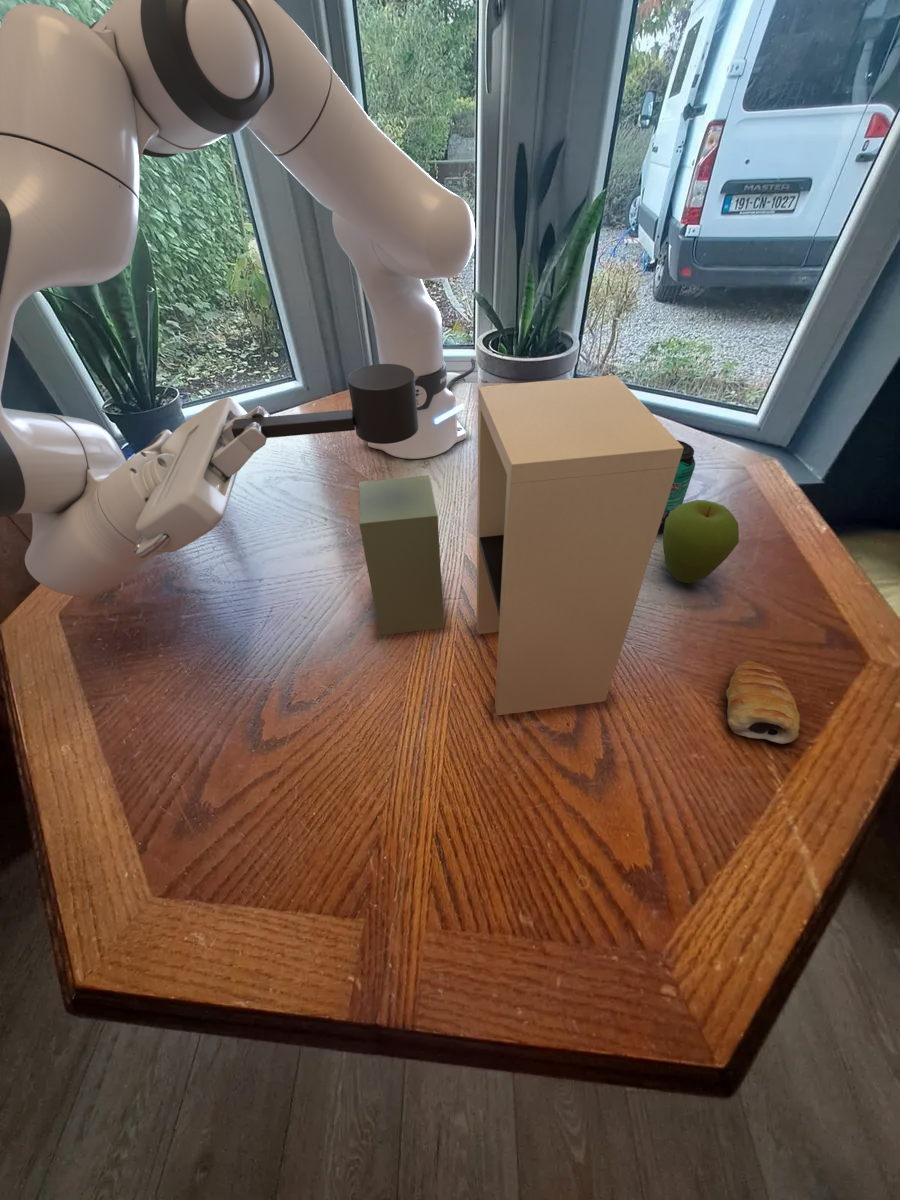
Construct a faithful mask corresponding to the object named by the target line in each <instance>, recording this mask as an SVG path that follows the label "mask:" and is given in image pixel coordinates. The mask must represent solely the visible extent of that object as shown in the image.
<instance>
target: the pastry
mask: <svg viewBox="0 0 900 1200" xmlns="http://www.w3.org/2000/svg"><path fill="white" fill-rule="evenodd" d="M728 685H729V686H728V688H727V689H726V692H725V695H726V698H727V707H726V708H727V711H726V712H727V713H726V714H727V724H728V727H729V728H730V730H731V731H732V732H733V733H734V734H736V735H738V736H742V737H744V738H745V737H746V738H749V739H756V740H757V739H758V740H759V739H761V740H767V741H769V742H772V743H777V744H782V745H784V744H788V743H792V742H793V741H795V740H797V738H798V737H799V735H800V733H799V730H800V724H801V723H800V721H801V714H800V713H799V710H798V706H797V702H796V699H795V697H794V695H793V693H792V692H791V691H790V689H789V687H788V686H787V685H786V684H785V681H784V680H783V679H782V677H781V676H780V675H779V673H778V672H777V671H776V670H775V669H773V667H770V666H767V665H765V664H762V663H757V662H755V661H753V660H747V661H745V662H742V663H740V664H738V665H737V666H736V668H735V671H734V673H733V674H732V676H731V677H730V679H729V684H728Z"/></svg>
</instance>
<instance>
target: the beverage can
mask: <svg viewBox="0 0 900 1200" xmlns="http://www.w3.org/2000/svg"><path fill="white" fill-rule="evenodd" d="M676 440H677V441H678V442H679V443H680V444H681V445H682V446H683V447H684V449H683V452H682V456H681V459H680V462H679V465H678V469H677V472H676V475H675V478H674V481H673V485H672V488H671V491H670V494H669V498H668V501H667V504H666V507H665V510H664V514H663V517H662V520H661V523H660V527H659V530H658V533H661V532H664V525H665V519H666V518H667V517H668V515H669V514H670V513H671V512H672V511H673V510H674V509H675V508H676V507H678V506H679V505H680V504H683V503H684V500H685V497H686V496H687V491H688V489H689V486H690V482H691V480H692V477H693V474H694V471H695V468H696V460H695V458H694V457H695V456H694V455H695V449H694V448H693V446H691V444H688V443H687V442H685V441H682V440H679V439H676Z"/></svg>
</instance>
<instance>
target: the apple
mask: <svg viewBox="0 0 900 1200" xmlns="http://www.w3.org/2000/svg"><path fill="white" fill-rule="evenodd" d="M739 527H740V526H739V522H738V520H737V518H736V517H735V515H734V514H733V513H732V512H731V511H730V510H729V509H728V508H727V507H726V506H725V505H723V504H720V503H718V502H714V501H711V500H705V499H695V500H690V501H687V502H683V504H680V505H679V506H678V507H676V508H675V509H674V510H673V511H672V512H671V513H670V514H669V515H668V517H667V518H666V519H665V525H664V531H663V533H662V534H663V535H662V549H663V557H664V563H665V566H666V569H667V570H668V572H669V573H670V575H671V576H672V577H673V578H674V579H675V581H678V582H679V583H683V584H694V583H697V582H699V581H702V580H704V579H706V578H707V577H708V576H710V575H711V574H712V572H714V571H715V570H716V569H717V568H718V567H719V566H720V565H721V564H723V563H724V562H725V561H726V559H727V558H728V557H729V556H730V555H731V553H732V552H733V551H734V549H735V548H736V547H737V546H738V544H739V542H740V541H739V538H740V536H739V535H740V528H739Z"/></svg>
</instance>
